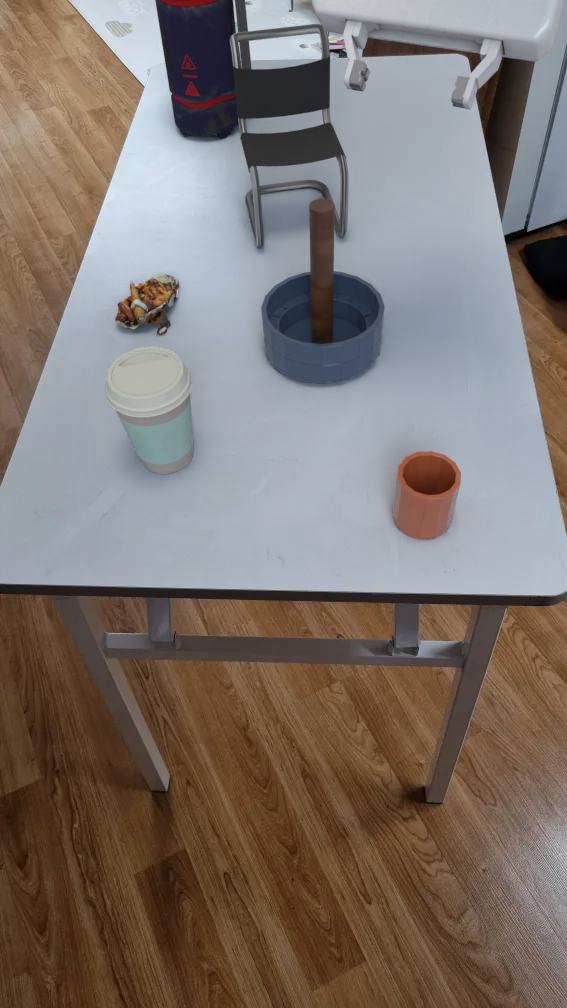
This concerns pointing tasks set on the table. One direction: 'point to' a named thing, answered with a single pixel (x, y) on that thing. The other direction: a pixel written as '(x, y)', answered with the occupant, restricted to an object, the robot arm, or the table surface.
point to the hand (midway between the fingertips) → (405, 96)
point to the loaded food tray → (148, 303)
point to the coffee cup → (153, 406)
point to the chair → (284, 97)
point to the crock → (426, 494)
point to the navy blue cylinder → (202, 62)
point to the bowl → (352, 329)
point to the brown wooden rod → (322, 269)
